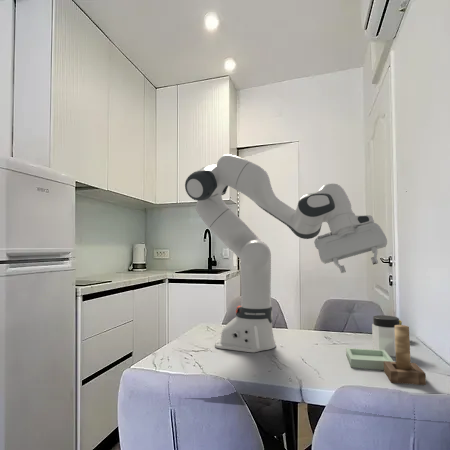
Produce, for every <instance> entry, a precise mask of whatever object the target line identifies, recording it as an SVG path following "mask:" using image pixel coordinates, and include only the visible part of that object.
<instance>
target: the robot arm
mask: <svg viewBox="0 0 450 450" xmlns="http://www.w3.org/2000/svg"><path fill="white" fill-rule="evenodd" d="M184 187H185V193H186V195H188V197H190V198H191V199H192V200H194V201H197V202H196V203H195V210H196V213H197V214H198V215H199V217H200V218H201V220H202V221H203V222H204V223H205V225H206V226H207V227H208V228H209V229H210V230H211V231H212V232H213V233H214V234H215V235H216V237H217V238H219V239H220V241H221V242H222V243H223V244H224V245H225V246H227V248H228V249H229V250H230V251H231V252H232V253H233V254H234V255H235V256H237V257H238V258H239V259H240V260H239V261H240V263H239V264H240V297H241V298H240V300H241V301H240V302H241V304H240V305H238V306H237V307H236V308H235V314H236V315H235V317H234V318H232V319H231V320H230V321H229V322H227V324H226V325H224V327H223V328H222V330H221V335H220V337H219V338H218V339H216V340H215V342H214V347H215V348H216V349H222V350H230V351H237V352H238V351H239V352H246V353H247V352H248V353H259V352H260V351H268V350H271V349H275V347H277V345H276V341H275V336H274V332H273V319H274V318H273V316H274V315H273V307H272V301H271V300H272V298H271V297H272V296H271V295H272V291H271V288H272V287H271V280H272V278H271V277H272V270H271V269H272V254H271V250H270V247H269V246H268V244H267V243H265V242H264V241H262V240H261V239H260V238H259V237H258V236H257V235H256V234H255V232H253V231H252V230H251V228H250V227H249V226H248V225H247V224H246V223H245V222H244V221H243V220H242V219H241V218H240V217H239V216H238V215H237V213H235V211H233V210H232V208H230V207H229V205H227V204H226V202H225V201H224V200H223V197H222V196H224V195H226V193H227V190H228V188H229V187H230V188H232V189H234V190H235V191H238V192H239V193H240V194H242V195H244V196H246V197H247V198H249V199H250V200H251V201H252V202H254V203H255V205H257V206H258V207H259V208H260V209H262V210H263V211H264V212H266V213H267V214H269V215H270V216H272V217H274V218H275V219H276V220H278V221H280V222H281V223H282V224H284V225H285V226H287V227H288V229H289V230H290V231H291V232H292V233H293V234H294V235H295V236H297V238H300V239H303V240H310V239H313V238H315V237H316V238H315V239H314V247H315V248H316V249H317V250H318V255H319V259H320V261H321V263H323V264H324V265H325V264H329V263H330V264H331V263H332V262H333V265H334V266H335V267H337V268H338V269H339V270H340V273H341V274H344V273H346V267H345V264H344V265H341V264H340V262H339V261H340V260H344V259H348V258H350V257H355V256H358V255H361V254H364V253H369V252H371V253H372V254H373V257H370V260H371V262H372V265H376V264H379V261H378V259H377V257H378V254H379V249H383V248H386V247H387V244H388V238H387V236H386V234H385V233H384V231H383V229H382V228H381V226H380V225H379V224H378V223H376V222H375V219H374V217H373V216H372V215H368V214H367V215H356V214H355V212H353V209H352V204H351V201H350V199H349V196H348V195H347V193H346V191H345V190H344V188H343V187H342V186H341V185H339V184H338V183H326V184H324V185H323V186H321V187H320V188H319V189H318V190H317V191H315V192H313V193H307V194H304V195H302V196H301V197H300V198H299V200H298V203H297V204H296V205H297V206H296V209H294V208H292V207H291V206H290V205H288V204H286V203H285V202H283V201H282V200H280V199H279V198H278V197H277V196H276V194H275V192H274V191H273V188H272V183H271V181H270V177H269V175H268V173H267V171H266V170H265V169H263V168H262V167H261V166H259V165H258V164H256V163H253V162H252V161H250V160H248V159H246V158H243V157H240V156H237V155H232V154H229V153H227V154H223V155H222V156H221V157H220V158H219V159H218V160H217V162H216V163H214V164H211V165H206V166H204V167H202V168H200V169H199V170H197V171H193V172H192V173H190V174H189V175H188V176H187V178H186V180H185V182H184ZM323 223H327V225H328V227H329V230H330V232H328V233H325V234H321V235H319V234H320V233H321V229H322V225H323Z"/></svg>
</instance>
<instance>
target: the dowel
mask: <svg viewBox="0 0 450 450" xmlns="http://www.w3.org/2000/svg"><path fill="white" fill-rule="evenodd" d="M410 341H411V339H410V326H408V325H405V324H401V325H395V350H396V356H395V362H396V369H398V370H411V363H412V362H411V343H410Z"/></svg>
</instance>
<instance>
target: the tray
mask: <svg viewBox="0 0 450 450" xmlns="http://www.w3.org/2000/svg"><path fill="white" fill-rule="evenodd" d="M345 352H346V353H345V354H346V358H347V361H348V363H349V366H350V368H353V369H369V370H382V371H384V361H389V362H395V361H394V360H393V358H392V357H391V356H389V355H388V354H387V352H386V351H385V350H374V349H373V348H369V349H368V348H356V347H355V348H352V347H345Z"/></svg>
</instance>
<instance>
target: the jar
mask: <svg viewBox="0 0 450 450" xmlns="http://www.w3.org/2000/svg"><path fill="white" fill-rule="evenodd" d="M372 320H373V321H372V322H373V323H372V324H371V329H372V330H371V332H372V334H371V336H372V349H374V350H385V351H386V352H387V354H388V355H389V356H390V357H391V358H392V357H393V358H396V350H395V325H399V320H400V318H399V317H397V316H393V315H383V314H380V315H373V317H372Z"/></svg>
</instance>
